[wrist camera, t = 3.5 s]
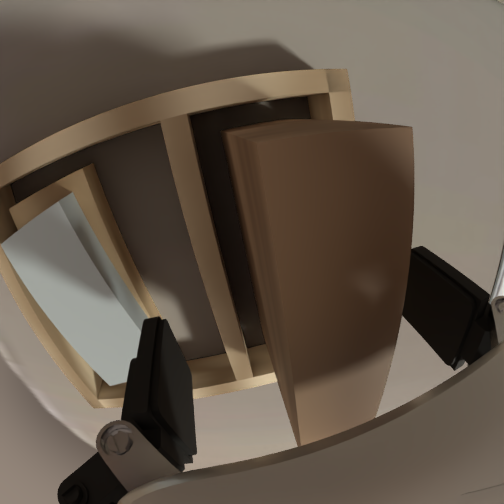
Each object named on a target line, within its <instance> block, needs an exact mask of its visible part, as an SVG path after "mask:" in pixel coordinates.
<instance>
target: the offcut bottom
mask: <svg viewBox="0 0 504 504" xmlns="http://www.w3.org/2000/svg"><path fill="white" fill-rule="evenodd" d="M72 192H73V194H74V196H75V198H76V200H77V202H78V204H79V206H80V207H81V209H82V211H83V213H84V215H85V217H86V219H87V221H88V222H89V224H90V226H91V228H92V230H93V232H94V233H95V235H96V237H97V239H98V240H99V242H100V244H101V246H102V247H103V249H104V251H105V252H106V254H107V256H108V257H109V259H110V261H111V262H112V264H113V265H114V267H115V269H116V270H117V272H118V273H119V275H120V277H121V278H122V280H123V281H124V283H125V284H126V286H127V287H128V289H129V290H130V292H131V293H132V295H133V296H134V298H135V299H136V301H137V302H138V304H139V305H140V307H141V308H142V309H143V311H144V312H145V314H146V315H147V316H148V318H152V317H157V316H160V317H161V315H160V313H159V311H158V310H157V308H156V306H155V304H154V302H153V300H152V298H151V296H150V294H149V292H148V290H147V288H146V286H145V284H144V282H143V280H142V278H141V276H140V274H139V272H138V270H137V268H136V266H135V264H134V262H133V260H132V257H131V255H130V253H129V251H128V249H127V247H126V244H125V242H124V240H123V238H122V235H121V233H120V231H119V228H118V226H117V224H116V221H115V219H114V216H113V214H112V211H111V209H110V206H109V204H108V201H107V199H106V196H105V194H104V191H103V188H102V186H101V183H100V180H99V177H98V175H97V172H96V169H95V166H94V163H92V164H90V165H88V166H86V167H84V168H82V169H80V170H77V171H75V172H73V173H71V174H69V175H67V176H66V177H64V178H62V179H60V180H58V181H56V182H54V183H52V184H50V185H49V186H47V187H45V188H43V189H41V190H40V191H38V192H36V193H34V194H33V195H31V196H29V197H28V198H26V199H24V200H23V201H21V202H19V203H18V204H16V205H14V206H13V207H11V208H10V209H9V210H10V213H11V215H12V218H13V220H14V223H15V225H16V227H17V229H18V230H19V229H20V228H22V227H23V226H24V225H26V224H27V223H28V222H30V221H31V220H32V219H34V218H35V217H36V216H38V215H39V214H41V213H42V212H43V211H45V210H46V209H48V208H49V207H51V206H52V205H54V204H55V203H57V202H58V201H60V200H61V199H63V198H64V197H66V196H67V195H69V194H70V193H72ZM161 319H162V317H161ZM162 320H163V319H162Z"/></svg>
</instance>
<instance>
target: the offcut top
mask: <svg viewBox="0 0 504 504" xmlns="http://www.w3.org/2000/svg"><path fill="white" fill-rule="evenodd" d="M1 247H2V248H3V250H4V252H5V254H6V255H7V257H8V259H9V260H10V262H11V264H12V265H13V267H14V269H15V270H16V272H17V274H18V275H19V277H20V278H21V280H22V281H23V283H24V284H25V286H26V287H27V289H28V290H29V292H30V293H31V295H32V296H33V297H34V299H35V300H36V302H37V303H38V304H39V306H40V307H41V309H42V310H43V311H44V313H45V314H46V315H47V316H48V318H49V319H50V320H51V322H52V323H53V324H54V325H55V327H56V328H57V329H58V330H59V332H60V333H61V334H62V335H63V336H64V338H65V339H66V340H67V341H68V342H69V343H70V345H71V346H72V347H73V348H74V349H75V350H76V351H77V353H78V354H79V355H80V356H81V357H82V358H83V359H84V360H85V361H86V362H87V363H88V364H89V365H90V367H91V368H92V369H93V370H94V371H95V372H96V373H97V374H98V375H99V376H100V377H101V378H102V379H103V380H104V381H105V382H106V383H107V384H108V385H109V386H112V385H116V384H120V383H124V382H127V377H128V371H129V366H130V362H131V360H132V359H133V358H136V357H137V351H138V346H139V340H140V335H141V330H142V325H143V321H144V319H148V316H147V315H146V314H145V312H144V311H143V309H142V308H141V307H140V305H139V304H138V302H137V301H136V299H135V298H134V296H133V295H132V293H131V292H130V290H129V289H128V287H127V286H126V284H125V283H124V281H123V280H122V278H121V277H120V275H119V273H118V272H117V270H116V269H115V267H114V265H113V264H112V262H111V261H110V259H109V257H108V256H107V254H106V252H105V251H104V249H103V247H102V246H101V244H100V242H99V240H98V239H97V237H96V235H95V233H94V232H93V230H92V228H91V226H90V224H89V222H88V221H87V219H86V217H85V215H84V213H83V211H82V209H81V207H80V206H79V204H78V202H77V200H76V198H75V196H74V194H73V192H72V193H70V194H69V195H67V196H66V197H64V198H63V199H61V200H60V201H58V202H57V203H55V204H54V205H52V206H51V207H49V208H48V209H46V210H45V211H43V212H42V213H41V214H39V215H38V216H36V217H35V218H34V219H32V220H31V221H30V222H28V223H27V224H26V225H24V226H23V227H22V228H20V229H19V230H18V231H17V232H15V233H14V234H13V235H12V236H10V237H9V238H8V239H7V240H5V241H4V242H3V243H2V244H1Z"/></svg>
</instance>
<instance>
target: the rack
mask: <svg viewBox="0 0 504 504" xmlns="http://www.w3.org/2000/svg"><path fill="white" fill-rule="evenodd" d="M306 96H307V98H308V104H309V110H310V117H311V119H320V120H345V121H355V118H354V110H353V103H352V96H351V90H350V83H349V78H348V72H347V69H313V70H296V71H283V72H273V73H264V74H256V75H248V76H241V77H235V78H229V79H223V80H218V81H213V82H208V83H203V84H198V85H194V86H189V87H185V88H181V89H177V90H173V91H169V92H165V93H162V94H158V95H155V96H151V97H148V98H145V99H141V100H138V101H135V102H132V103H129V104H126V105H123V106H120V107H117V108H115V109H112V110H109V111H106V112H104V113H101V114H99V115H96V116H94V117H91V118H89V119H86V120H84V121H81V122H79V123H77V124H75V125H72V126H70V127H68V128H66V129H63V130H61V131H59V132H57V133H55V134H53V135H51V136H49V137H47V138H45V139H43V140H41V141H39V142H37V143H35V144H33V145H32V146H30V147H28V148H26V149H24V150H23V151H21V152H19V153H17V154H16V155H14V156H12V157H11V158H9V159H7V160H6V161H4V162H2V163H1V164H0V272H1V274H2V276H3V278H4V280H5V282H6V284H7V286H8V288H9V290H10V292H11V294H12V296H13V298H14V299H15V301H16V303H17V305H18V306H19V308H20V310H21V312H22V313H23V315H24V317H25V318H26V320H27V322H28V323H29V325H30V326H31V328H32V330H33V331H34V333H35V334H36V336H37V337H38V339H39V340H40V342H41V343H42V345H43V346H44V347H45V349H46V350H47V352H48V353H49V354H50V356H51V357H52V359H53V360H54V361H55V363H56V364H57V365H58V367H59V368H60V369H61V370H62V372H63V373H64V374H65V375H66V377H67V378H68V379H69V380H70V382H71V383H72V384H73V385H74V386H75V388H76V389H77V390H78V391H79V392H80V394H81V395H82V396H83V397H84V398H85V399H86V400H87V401H88V403H89V404H90V405H91V406H92V407H93V408H114V407H123V402H124V395H125V389H126V383H127V382H124V383H120V384H116V385H112V386H109V385H108V384H107V383H106V382H105V381H104V380H103V379H102V378H101V377H100V376H99V375H98V374H97V373H96V372H95V371H94V370H93V369H92V368H91V367H90V365H89V364H88V363H87V362H86V361H85V360H84V359H83V358H82V357H81V356H80V355H79V354H78V353H77V351H76V350H75V349H74V348H73V347H72V346H71V345H70V343H69V342H68V341H67V340H66V339H65V338H64V336H63V335H62V334H61V333H60V332H59V330H58V329H57V328H56V327H55V325H54V324H53V323H52V322H51V320H50V319H49V318H48V316H47V315H46V314H45V313H44V311H43V310H42V309H41V307H40V306H39V304H38V303H37V302H36V300H35V299H34V297H33V296H32V295H31V293H30V292H29V290H28V289H27V287H26V286H25V284H24V283H23V281H22V280H21V278H20V277H19V275H18V274H17V272H16V270H15V269H14V267H13V265H12V264H11V262H10V260H9V259H8V257H7V255H6V254H5V252H4V250H3V248H2V247H1V244H2V243H3V242H4V241H5V240H7V239H8V238H9V237H10V236H12V235H13V234H14V233H15V232H17V231H18V229H17V227H16V225H15V223H14V220H13V218H12V215H11V213H10V210H9V209H10V208H11V207H13V206H14V205H16V202H15V199H14V195H13V192H12V189H11V185H10V184H11V183H13V182H15V181H17V180H19V179H21V178H22V177H24V176H26V175H28V174H30V173H32V172H34V171H36V170H38V169H40V168H42V167H44V166H46V165H49V164H51V163H53V162H55V161H57V160H60V159H62V158H64V157H66V156H69V155H71V154H73V153H76V152H78V151H81V150H83V149H85V148H88V147H91V146H93V145H96V144H98V143H101V142H104V141H106V140H109V139H112V138H115V137H118V136H121V135H124V134H127V133H130V132H133V131H136V130H139V129H142V128H145V127H149V126H152V125H156V124H159V123H161V127H162V131H163V136H164V140H165V144H166V149H167V153H168V157H169V161H170V165H171V169H172V173H173V177H174V181H175V185H176V189H177V193H178V197H179V200H180V204H181V208H182V212H183V215H184V219H185V223H186V226H187V230H188V233H189V237H190V240H191V244H192V247H193V250H194V254H195V257H196V261H197V264H198V267H199V271H200V274H201V277H202V280H203V283H204V287H205V290H206V293H207V296H208V299H209V302H210V305H211V309H212V312H213V315H214V318H215V321H216V324H217V327H218V330H219V332H220V335H221V338H222V341H223V344H224V347H225V350H226V353H225V354H220V355H215V356H210V357H205V358H200V359H195V360H190V361H186V362H187V364H188V366H189V368H190V371H191V374H192V386H193V399H196V398H203V397H208V396H214V395H219V394H224V393H230V392H234V391H239V390H244V389H248V388H253V387H257V386H261V385H265V384H269V383H273V382H277V378H276V375H275V372H274V369H273V365H272V362H271V359H270V356H269V352H268V349H267V346H266V344H263V345H259V346H255V347H251V348H247V347H246V343H245V340H244V336H243V333H242V329H241V325H240V322H239V318H238V314H237V311H236V307H235V303H234V299H233V295H232V292H231V288H230V284H229V280H228V276H227V272H226V269H225V265H224V261H223V257H222V253H221V249H220V245H219V241H218V237H217V233H216V229H215V225H214V220H213V216H212V212H211V208H210V204H209V199H208V195H207V191H206V187H205V182H204V178H203V174H202V169H201V165H200V160H199V156H198V151H197V147H196V142H195V138H194V133H193V128H192V124H191V119H190V115H194V114H198V113H203V112H207V111H212V110H217V109H222V108H227V107H232V106H238V105H243V104H249V103H256V102H263V101H270V100H278V99H286V98H295V97H306Z"/></svg>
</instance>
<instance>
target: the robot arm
mask: <svg viewBox="0 0 504 504" xmlns="http://www.w3.org/2000/svg"><path fill="white" fill-rule="evenodd" d="M497 1H498V2H500V3H502V4H504V0H497ZM489 297H490V295H489V294H488V293H487V292H486V291H484V290H483V289H482V288H481V287H479V286H478V285H477V284H475V283H474V282H473V281H471V280H470V279H469V278H467V277H466V276H465V275H463V274H462V273H461V272H459V271H458V270H457V269H455V268H454V267H452V266H451V265H450V264H448V263H447V262H445V261H444V260H442V259H441V258H440V257H438V256H437V255H435V254H434V253H432V252H431V251H429V250H428V249H426V248H425V247H423V246H419V247H416V248H413V249H411V255H410V265H409V273H408V281H407V288H406V294H405V301H404V306H403V312H402V315H403V317H404V318H405V319H406V320H407V321H408V322H409V323H410V324H411V325H412V326H413V327H414V329H415V330H416V331H417V332H418V333H419V334H420V335H421V336H422V337H423V338H424V340H425V341H426V342H427V343H428V344H429V345H430V346H431V347H432V349H433V350H434V351H435V352H436V353H437V354H438V355H439V357H440V358H441V359H442V360H443V361H444V362H445V364H447V365H448V366H451V367H452V368H453V370H454V371H455V370H456V369H458V368H459V367H461V366H462V365H463V364H464V362H465V361H466V362H467V363H468V367H466V368H465V369H463V370H462V371H460V372H459V373H457V374H456V375H454V376H453V377H451V378H450V379H448V380H446V381H445V382H443V383H441V384H440V385H438V386H436V387H435V388H433V389H431V390H430V391H428V392H426V393H424V394H423V395H421V396H419V397H417V398H415V399H413V400H412V401H410V402H408V403H406V404H404V405H402V406H400V407H398V408H396V409H394V410H392V411H390V412H388V413H386V414H383V415H381V416H379V417H377V418H375V419H372V420H370V421H368V422H365V423H363V424H361V425H358V426H356V427H353V428H351V429H348V430H346V431H343V432H341V433H338V434H335V435H332V436H330V437H327V438H324V439H321V440H318V441H315V442H312V443H309V444H306V445H302V446H299V447H296V448H292V449H289V450H285V451H281V452H278V453H274V454H270V455H266V456H262V457H258V458H253V459H249V460H244V461H240V462H235V463H229V464H224V465H218V466H213V467H208V468H203V469H197V470H191V471H187V472H182V471H183V470H184V469H185V467H184V464H187V463H193V458H192V455H196V454H197V447H196V435H195V421H194V405H193V386H192V374H191V371H190V368H189V366H188V364H187V362H186V360H185V358H184V356H183V354H182V352H181V350H180V348H179V345H178V343H177V341H176V339H175V337H174V335H173V332H172V330H171V328H170V326H169V323H168V321H167V320H166V319H163V320H162V319H161V317H160V316H157V317H152V318H148V319H144V321H143V325H142V330H141V335H140V340H139V346H138V351H137V357H136V358H133V359H132V360H131V362H130V366H129V371H128V377H127V383H126V389H125V395H124V402H123V409H122V416H121V420H116V421H113V422H110V423H108V424H106V425H105V426H104V427H103V428H102V429H101V430H100V432H99V433H98V435H97V439H96V448H97V450H98V452H97V453H96V454H95V455H94V456H92V457H91V458H90V459H89V460H88V461H87V462H85V463H84V464H83V465H82V466H81V467H80V468H78V469H77V470H76V471H75V472H74V473H72V474H71V475H70V476H69V477H67V478H66V479H65V480H64V481H63V482H62V483H61V484H60V486H59V489H58V501H59V503H60V504H504V296H497V297H495V298H494V299H493V300H492V302H491V304H490V303H488V301H489Z"/></svg>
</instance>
